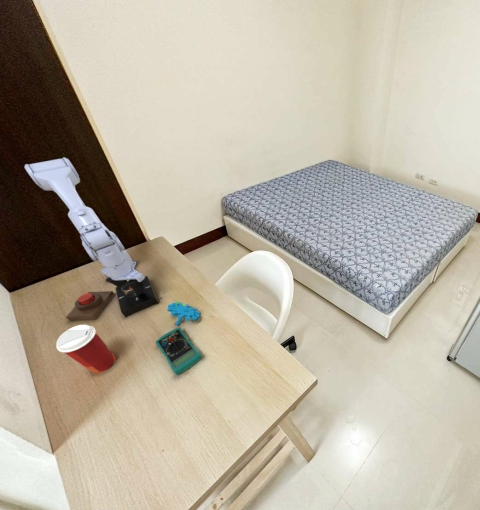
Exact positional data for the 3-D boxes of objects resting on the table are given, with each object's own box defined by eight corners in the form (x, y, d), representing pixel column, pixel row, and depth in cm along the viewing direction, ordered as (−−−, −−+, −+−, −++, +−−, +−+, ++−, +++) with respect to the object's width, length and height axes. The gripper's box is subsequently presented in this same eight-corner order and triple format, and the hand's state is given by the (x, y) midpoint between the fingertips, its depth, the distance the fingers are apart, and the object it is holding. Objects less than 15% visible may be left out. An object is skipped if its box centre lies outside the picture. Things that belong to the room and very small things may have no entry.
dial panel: (119, 293, 95) (115, 287, 93) (150, 281, 100) (146, 275, 99) (125, 317, 87) (120, 311, 85) (159, 303, 92) (155, 297, 90)
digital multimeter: (181, 329, 84) (178, 324, 82) (203, 359, 77) (200, 353, 75) (157, 345, 80) (152, 339, 78) (177, 377, 72) (173, 372, 70)
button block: (91, 296, 94) (85, 288, 91) (115, 295, 95) (109, 287, 92) (69, 321, 85) (62, 313, 83) (96, 320, 86) (89, 312, 84)
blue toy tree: (205, 318, 86) (172, 314, 78) (196, 334, 86) (163, 331, 78) (195, 302, 93) (165, 296, 85) (187, 316, 93) (156, 312, 85)
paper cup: (122, 348, 79) (96, 319, 70) (116, 371, 73) (86, 343, 64) (91, 356, 76) (60, 328, 67) (82, 381, 71) (46, 353, 62)
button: (85, 296, 89) (82, 293, 88) (96, 296, 89) (94, 292, 88) (78, 305, 86) (75, 301, 85) (90, 304, 87) (86, 301, 85)
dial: (125, 291, 92) (119, 283, 90) (142, 284, 95) (137, 277, 92) (127, 300, 89) (121, 292, 87) (144, 293, 92) (139, 285, 89)
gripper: (143, 257, 85) (160, 286, 94) (106, 251, 87) (126, 280, 96) (125, 272, 80) (145, 301, 88) (86, 264, 82) (109, 294, 90)
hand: (134, 291), depth 92 cm, fingers closed on dial, 5 cm apart
